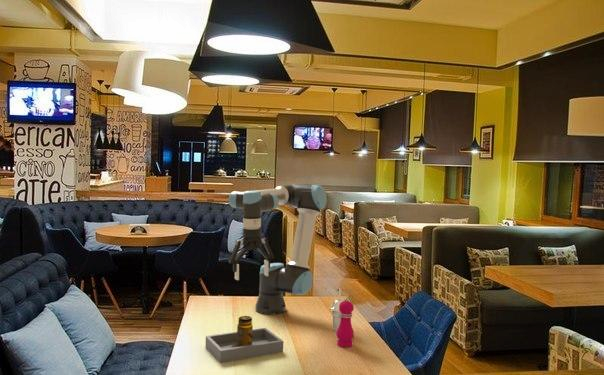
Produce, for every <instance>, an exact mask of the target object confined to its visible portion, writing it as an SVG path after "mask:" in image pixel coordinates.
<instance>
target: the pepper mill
mask: <svg viewBox="0 0 604 375" xmlns="http://www.w3.org/2000/svg"><path fill="white" fill-rule="evenodd" d="M354 307H355V306H354V303H353V302H352V301H350V298H349V297H348V296H346V297H345V298H344V300H343V301H342V302H341V303H340V305H339V310H340V311H341V312H340V316H341V322H340V325H339V327H338V329H337V332H336V338H337V343H336V345H337V346H338V347H340V348H346V349H347V347H348V348H351V347H352V346H353V339H354V337H355V331H354V329H353V327H352V317H353V311H354V310H355V308H354Z"/></svg>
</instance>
